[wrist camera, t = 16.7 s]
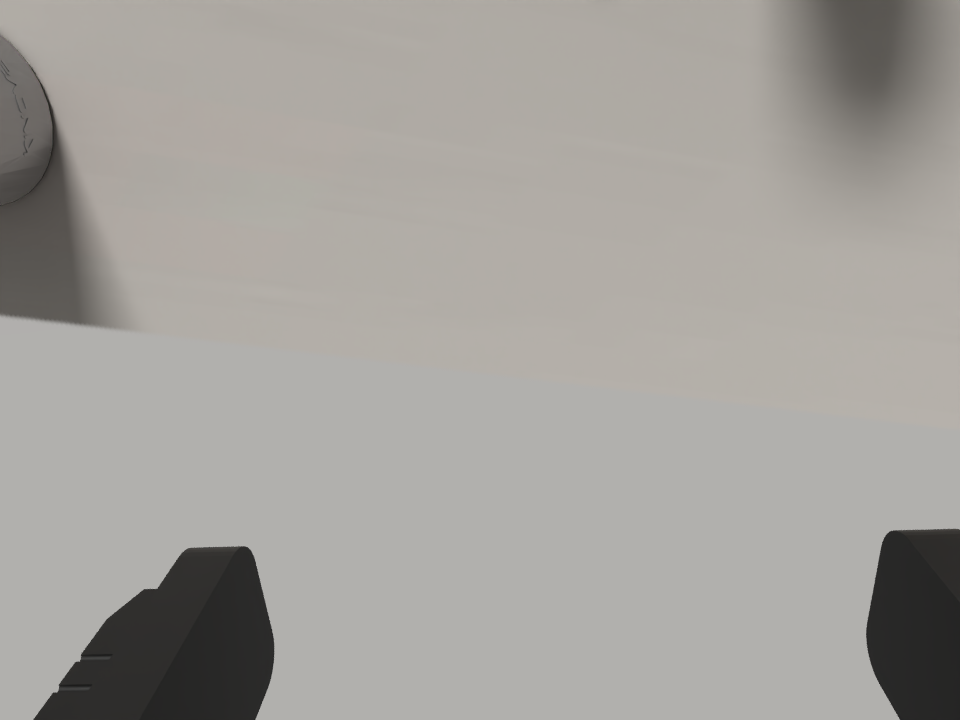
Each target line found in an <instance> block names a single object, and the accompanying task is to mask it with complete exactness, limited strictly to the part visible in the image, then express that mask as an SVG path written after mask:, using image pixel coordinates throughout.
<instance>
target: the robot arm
mask: <svg viewBox="0 0 960 720" xmlns="http://www.w3.org/2000/svg"><path fill="white" fill-rule="evenodd" d="M52 146H53V125H52V120H51V116H50V111H49V106H48V103H47V100H46V97H45V95H44V92H43V90H42V87H41V85H40V83H39V81H38V79H37V78H36V76H35V74H34V73H33V71H32V69H31V68H30V66H29V64H28V63H27V62H26V60H25V59H24V58H23V57H22V56H21V54H20V53H19V52H18V51H17V50H16V48H15V47H14V46H13V45H12V44H11V43H10V42H9V41H7V40H6V39H5V38H4V37H3V36H2V35H0V205H3V204H7V203H10V202H13V201H16V200H18V199H19V198H21V197H22V196H24V195H26V194H27V193H29V192H30V191H31V190H32V189H33V188H34V187H35V185H36V184H37V183H38V182H39V181H40V180H41V178H42V176H43V174H44V172H45V170H46V168H47V166H48V164H49V160H50V155H51V151H52ZM866 638H867V648H868V653H869V657H870V661H871V665H872V668H873V671H874V673H875V676H876V678H877V680H878V682H879V684H880V686H881V687H882V689H883V691H884V693H885V694H886V696H887V698H888V699H889V701H890V703H891V705H892V706H893V708H894V710H895V711H896V713H897V715H898V717H899V719H900V720H960V530H959V529H937V530H936V529H934V530H898V531H897V530H896V531H890V532H889V533H888V534H887V535H886V536H885V538H884V540H883V542H882V547H881V551H880V557H879V562H878V568H877V573H876V578H875V584H874V590H873V595H872V600H871V606H870V611H869V617H868V622H867V630H866ZM273 663H274V638H273V633H272V629H271V624H270V620H269V616H268V612H267V608H266V604H265V600H264V595H263V591H262V587H261V583H260V579H259V575H258V571H257V566H256V562H255V559H254V556H253V554H252V552H251V550H250V549H249V548H248V547H244V546H243V547H242V546H241V547H204V548H188V549H186V550H185V551H184V552H183V553H182V554H181V555H180V556H179V558H178V559H177V561H176V562H175V564H174V565H173V566H172V568H171V569H170V571H169V573H168V574H167V575H166V577H165V578H164V580H163V581H162V583H161V584H160V586H159V587H158V589H144V590H143V591H141V592H140V593H139V594H138V595H136V596H135V597H134V598H133V599H132V600H130V601H129V602H128V603H126V604H125V605H124V606H123V607H122V608H120V609H119V610H118V611H117V612H115V613H114V614H113V615H112V616H110V617H109V618H108V619H107V620H106V621H105V623H104V624H103V625H102V627H101V628H100V629H99V631H98V632H97V633H96V635H95V636H94V638H93V639H92V640H91V642H90V643H89V644H88V646H87V647H86V648H85V650H84V651H83V653H82V654H81V660H80V662H75V664H74V665H73V666H72V668H71V669H70V670H69V672H68V673H67V674H66V676H65V678H64V679H63V680H62V681H61V683H60V684H59V691H58V692H57V693H53V694H52V695H51V696H50V698H49V699H48V700H47V702H46V703H45V705H44V706H43V707H42V709H41V710H40V711H39V713H38V714H37V715H36V717H35V718H34V720H255V719H256V716H257V714H258V712H259V709H260V706H261V704H262V701H263V699H264V696H265V694H266V691H267V689H268V686H269V683H270V679H271V675H272V670H273Z"/></svg>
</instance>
